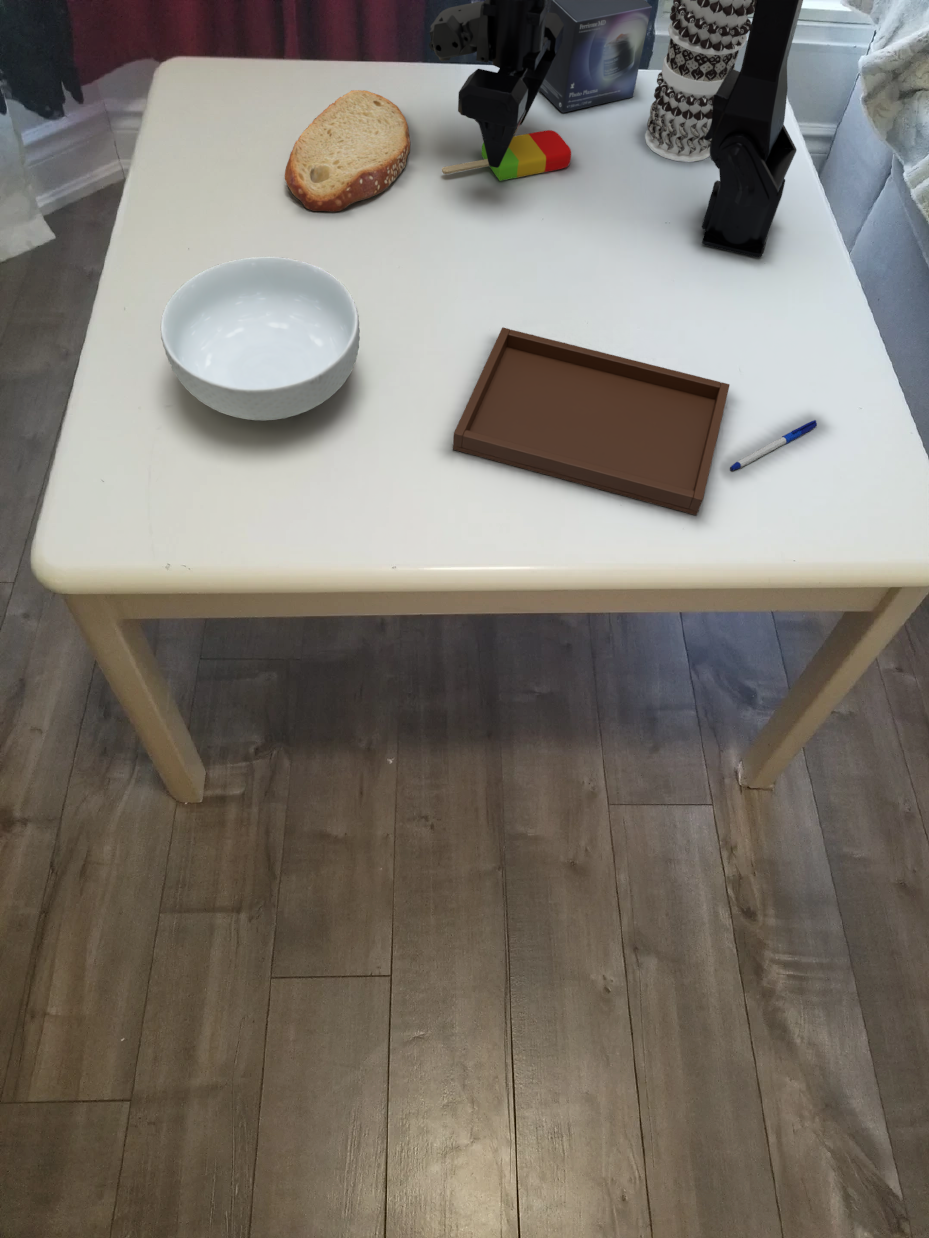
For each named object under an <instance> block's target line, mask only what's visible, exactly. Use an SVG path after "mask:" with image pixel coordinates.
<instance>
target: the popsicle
mask: <svg viewBox="0 0 929 1238" xmlns="http://www.w3.org/2000/svg"><path fill="white" fill-rule="evenodd" d="M480 152H481V157H482V159H480V160H479V159H478V160H474V161H468V162H463V163H457V164H453V165H452V164H451V165H447V166H443V167H441V172H442V173H443V174H444V175H449V174H454V173H459V172H460V173H461V172H464V171H465V172H466V171H469V170H476V169H480V168H485V167H489V168H490V169H491V171H492V172H493V174H494V175H495V177H496V178H497V179H498V181H499V182H501V181H506V180H507V181H508V180H512V179H517V178H521V177H525V176H526V177H527V176H533V175H537V174H543V173H547V172H552V171H557V170H563V169H565V168H567V167H569V165H570V163H571V160H572V150H571V148H570V146H569V145H568V143H566V141H565V140H564V139H563V137H562V136H561V135H560V134H559V133H558V132H556V131H555V130H552V129H548V130H547V129H546V130H540V131H535V132H530V133H523V134H519V135H514V137H513V139H512V141H511V143H510V145H509V147H508V149H507V152H506V154H505V156H504V158H503V160H502V162H501V164H500V166H499V167H498V168H495V167H491V166H489V163H488V159H487V154H486V150H485V146H484V141H483V142H482V144H481V151H480Z"/></svg>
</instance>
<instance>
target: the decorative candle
mask: <svg viewBox="0 0 929 1238" xmlns="http://www.w3.org/2000/svg"><path fill="white" fill-rule="evenodd" d="M756 2H757V0H672V5H671V8H670V14H669V20H670V23H669V24H668V28H667V30H668V36H669V42H668V46H667V53H666V55H665V56H664V58H663V62H662V67H661V71H660V72H659V73H658V74H657V77H656V84H657V86H656V87H655V89H654V92H653V98H654V99H655V100H654V101H652V103H651V105H650V109H649V117H648V119H647V123H646V128H647V130H646V132H645V134H644V138H645V144H646V146H648V148H649V149H650V150H651V151H652V152H654V153H655V154H657V155H659V156H660V157H662V158H665V159H668V160H672V161H675V162H685V163H692V162H699V161H703V160H705V159H707V158H709V157H710V153H709V152H710V143H711V139H709V140H705V139H704V137H705V136H706V134H707V132H708V130H709V128H710V126H711V123H712V109H713V100H714V96H715V94H716V92H717V91H718V89H719V87H720V85H721V84H722V82H723V80H724V79H725V77H726V75H727V73H728V72H729V70H730V69H734V70H736V66H735V65H736V62H737V60H738V56H739V52H740V50H741V49H743V47H744V46H745V44H747V41H748V35H747V34H749V32H750V28H751V23H752V20H750V19H749V18H748V17H749V16H751V15H754V10H755V6H756Z"/></svg>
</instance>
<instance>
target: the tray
mask: <svg viewBox="0 0 929 1238" xmlns="http://www.w3.org/2000/svg"><path fill="white" fill-rule="evenodd" d="M729 390H730V383H726V382H721V381H718V380H714V379H711V378H706V377H702V376H698V375H696V374H695V375H694V374H689V373H687V372H682V371H678V370H674V369H670V368H667V367H663V366H658V365H654V364H650V363H646V362H643V361H638V360H634V359H631V358H626V357H622V356H618V355H615V354H610V353H606V352H603V351H597V350H595V349H590V348H586V347H582V346H579V345H574V344H570V343H566V342H562V341H559V340H554V339H550V338H546V337H543V336H539V335H534V334H530V333H527V332H523V331H519V330H514V329H510V328H507V327H502V328H500V331H499V334H498V336H497V338H496V340H495V342H494V344H493V347H492V349H491V351H490V353H489V355H488V357H487V360H486V362H485V364H484V366H483V368H482V370H481V373H480V375H479V377H478V379H477V382H476V383H475V386H474V388H473V390H472V392H471V395H470V396H469V399H468V401H467V403H466V406H465V407H464V410H463V412H462V414H461V417H460V419H459V421H458V422H457V425H456V428H455V429H454V431H453V439H452V450H454V451H457V452H462V453H465V454H468V455H473V456H475V457H480V458H483V459H486V460H490V461H494V462H498V463H500V464H505V465H508V466H513V467H516V468H519V469H522V470H523V469H524V470H527V471H531V472H535V473H539V474H542V475H546V476H550V477H553V478H557V479H559V480H560V479H561V480H563V481H564V480H565V481H568V482H572V483H576V484H579V485H583V486H586V487H590V488H594V489H597V490H600V491H605V492H608V493H612V494H616V495H620V496H624V497H627V498H631V499H634V500H638V501H641V502H645V503H649V504H652V505H656V506H660V507H664V508H668V509H671V510H675V511H679V512H682V513H686V514H689V515H693V516H697V515H698V513H699V510H700V508H701V505H702V503H703V501H704V497H705V492H706V488H707V483H708V480H709V476H710V472H711V471H710V470H711V468H712V467H711V466H712V462H713V458H714V454H715V449H716V445H717V440H718V437H719V436H718V435H719V432H720V428H721V423H722V418H723V415H724V410H725V407H726V403H727V398H728V394H729Z"/></svg>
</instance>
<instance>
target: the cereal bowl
mask: <svg viewBox="0 0 929 1238" xmlns="http://www.w3.org/2000/svg"><path fill="white" fill-rule="evenodd" d="M359 317H360V315H359V313H358V307H357V305H356V302H355V300H354V297H353V295H352V294H351V292H350V291H349V290H348V288H347V287H346V286H345V285H344V283H343V282H342V281H340V280H339V278H337V277H336V276H334V275H333V274H331V273H330V272H328V271H327V270H325V269H323V268H322V267H319V266H317V265H314V264H312V263H309V262H306V261H302V260H299V259H294V258H289V257H282V256H252V257H250V256H249V257H244V258H238V259H234V260H230V261H225V262H223V263H219V264H216V265H214V266H211V267H208V268H206V269H204V270H202V271H200V272H198V273H197V274H195V275H194V276H192V277H191V278H189V279H188V280H186V281H185V282H184V283H183V284H181V285H180V286H179V288H177V289H176V290H175V291H174V293H172V295H171V296H170V298H169V299H168V301H167V303H166V304H165V307H164V309H163V310H162V316H161V319H160V339H161V341H162V347H163V349H164V351H165V355H166V357H167V360H168V363H169V365H170V366H171V369H172V371H173V373H174V374H175V377H176V378H177V379H178V381H179V382H180V383H181V385H182V386H183V387H184V388H185V389H186V390H187V391H188V392H189V394H191V395H192V396H193V397H194V398H196V399H197V400H198V401H199V402H201V403H202V404H204V405H205V406H208V407H209V408H210V409H212V410H214V411H217V412H218V413H220V414H223V415H226V416H231V417H233V418H237V419H242V420H248V421H250V420H252V421H264V422H265V421H272V420H273V421H276V420H281V419H287V418H291V417H295V416H298V415H300V414H304V413H306V412H308V411H310V410H313V409H314V408H316V407H318V406H320V405H322V404H323V403H324V402H325V401H327V400H328V399H330V398H331V397H332V396H333V395H335V394H336V393H337V391H338V390H339V389H341V388H342V386H343V385H344V384H345V382H347V380H348V378H349V377H350V375H351V373H352V371H353V369H354V368H355V367H354V366H355V363H356V361H357V357H358V354H359V353H358V352H359V349H360V339H361V337H360V333H361V329H360V319H359Z"/></svg>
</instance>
